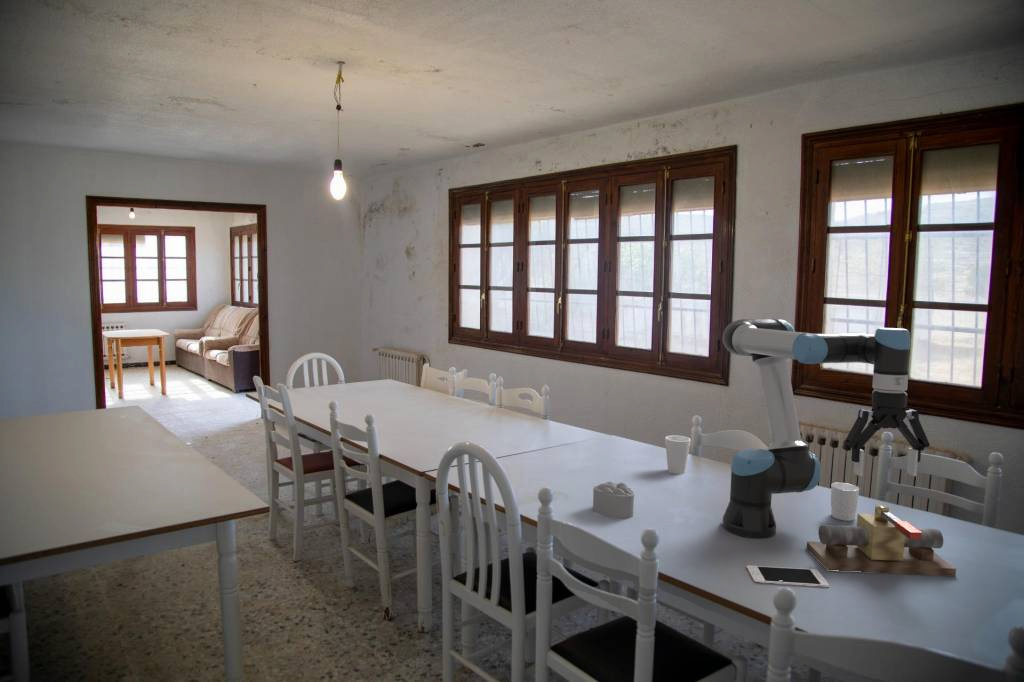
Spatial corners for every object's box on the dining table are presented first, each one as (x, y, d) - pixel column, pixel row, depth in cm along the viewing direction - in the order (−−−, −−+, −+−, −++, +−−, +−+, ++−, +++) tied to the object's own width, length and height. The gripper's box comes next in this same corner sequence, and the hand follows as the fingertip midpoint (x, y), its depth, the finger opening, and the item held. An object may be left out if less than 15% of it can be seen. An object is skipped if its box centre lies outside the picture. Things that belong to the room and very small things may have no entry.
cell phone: (745, 568, 171) (745, 564, 170) (816, 572, 169) (817, 569, 169) (754, 584, 162) (754, 581, 162) (829, 589, 160) (830, 585, 160)
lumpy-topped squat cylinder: (609, 502, 216) (610, 477, 215) (641, 513, 206) (642, 487, 206) (588, 509, 210) (589, 483, 209) (619, 521, 200) (620, 494, 199)
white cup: (825, 517, 206) (827, 486, 205) (833, 510, 212) (835, 480, 211) (852, 523, 201) (855, 492, 200) (860, 517, 206) (862, 486, 205)
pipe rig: (828, 571, 169) (831, 528, 167) (806, 548, 182) (809, 508, 181) (955, 576, 167) (959, 533, 166) (924, 552, 181) (927, 512, 180)
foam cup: (669, 466, 257) (671, 434, 255) (692, 470, 251) (694, 437, 250) (660, 472, 249) (661, 439, 248) (683, 477, 244) (684, 443, 242)
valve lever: (908, 544, 158) (909, 530, 157) (872, 516, 175) (873, 504, 175) (921, 544, 157) (922, 531, 157) (884, 517, 175) (885, 505, 174)
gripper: (848, 393, 157) (843, 479, 159) (949, 393, 157) (944, 479, 159) (832, 388, 164) (828, 470, 166) (928, 388, 165) (924, 470, 167)
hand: (884, 474), depth 163 cm, fingers open, 13 cm apart
